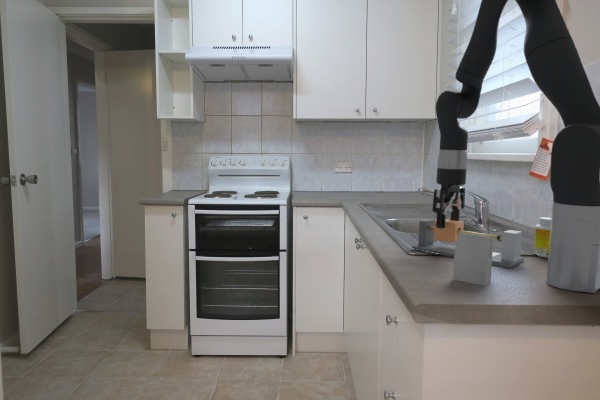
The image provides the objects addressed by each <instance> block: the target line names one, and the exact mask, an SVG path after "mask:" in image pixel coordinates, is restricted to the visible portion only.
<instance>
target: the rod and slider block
mask: <svg viewBox="0 0 600 400" xmlns="http://www.w3.org/2000/svg"><path fill="white" fill-rule="evenodd" d="M435 220H436V219H432V218H431V219H430V218H426V219H422V220H419V223H418V224H419V225H418V226H419V227H418V241H417V242H418V244H415V245H412V246H411V249H412V248H414V249H418V250H423V251H429V252H434V253H439V254H442V255H441V256H443V255H444V257H448V258H453V259H454V254H455V248H456V245H455V244H454V245H453V244H448V243H441V242H436V241H434V239H433V237H434V221H435ZM458 233H466V234H474V235H482V236H490V237H492V240H497V242H502V244H501V252H493V251H492V266H496V267H502V268H506V269H510V268H512V267H515V266H517V265H519V264H520V263H522V262H524V259H525V256H524V257H523V256H521V252H522V251H521V250H522V238H523V237H522V236H523V231H521V230H512V229H508V230H504V231H503V232H502V234H498V235H496V234H495V235H494V234H489V233H482V232H481V233H480V232H476V231H468V230H463V231H462V230H458V231H457V234H458Z"/></svg>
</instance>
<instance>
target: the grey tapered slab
mask: <svg viewBox="0 0 600 400" xmlns="http://www.w3.org/2000/svg"><path fill="white" fill-rule="evenodd" d="M455 243H456V244H455V246H456V248H455V254H454V258H453V271H452V272H453V273H452V280H454V281H458V282H463V283H469V284H474V285H480V286H484V287H486V286H488V285H489V284H490V283H491V280H492V266H493V265H492V252H493V239H492V237H490V236H482V235H474V234H466V233H458V238H457V242H455Z"/></svg>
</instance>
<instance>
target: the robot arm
mask: <svg viewBox="0 0 600 400" xmlns="http://www.w3.org/2000/svg"><path fill="white" fill-rule="evenodd" d="M508 1H509V0H481V2H480V5H479V10H478V12H477V16H476V19H475V23H474V27H473V30H472V32H471V36H470V39H469V41H468V44H467V46H466V49H465V51H464V53H463V56H462V58H461V60H460V63H459V65H458V67H457V68H456V69H457V70H456V72H455V79H456V80H457V81H458V83H461V90H460V91H458V90H445V91H443V92H441V93H440V94H439V95H438V97H437V100H436V102H435V103H436V104H435V114H436V120H437V125H438V130H439V134H440V137H439V150H438V156H437V168H436V180H435V181H436V184H437V185H440V189H436V188H435V189H434V192H433V201H432V209H431V210H432V213H435V214H436V219H435V220H436V227H437V228H442V229H443V228H445V220H446V219H447V212H448V210H449V209H451V212H450V220H456V221H460V215H461V214H460V213H461V212H462V210H464V209H465V205H466V204H465V201H466V200H465V199H466V187H462V186H465V185H466V184H467V169H468V144H469V143H468V141H469V132H468V130H467V129H466V128H464V127H463V126H462V127H461V126H460V125H459V119H460V120H465V119H468V118H470V117H471V116H472V115H473V114H475V112H476V110H477V109H478V106H479V102H480V98H481V92H482V88H483V83H484V79H485V78H486V76H487V74H488V72H489V69H490V68H491V65H492V63H493V61H494V58H495V55H496V53H497V46H498V36H499V35H498V32H499V25H500V20H501V15H502V13H503V11H504V8H505V6H506V5H507V3H508ZM514 1H515V2H516V4H517V5H518V7H519V10H520V11H521V13H522V16H523V19H524V21H525V35H524V40H523V54H524V58H525V62H526V64H527V67H528V69H529V72H530V75H531V77H532V79H533V81H534V83H535V84H536V86H537V88H539V90H540V91H541V92H542V93H543V94H544V96H545V97H546V98H547V100H548V101H549V102H550V104H552V105H553V107H554V108H555V110H556V111H557V112H558V114H559V116H560V118H561V121H562V122H563V125H564V127H563V128H562V129H561V130H560V131H558V133H557V134H556V135H555V137H554V140H553V142H552V147H551V151H550V174H549V175H550V176H549V178H550V179H549V183H550V184H549V185H550V188H551V192H552V195H553V197H552V198H553V199H552V209H551V210H552V211H551V218H552V219H551V231H550V243H549V255H548V258H547V266H546V267H547V268H546V269H547V270H546V279H545V281H546V284H548V285H550V286H552V287H554V288H558V289H561V290H565V291H566V290H567V291H572V292H582V293H591V294H596V292H598V290H599V289H600V104H599V102H598V101H597V98H596V96H595V94H594V91H593V89H592V86H591V82H590V81H589V78H588V75H587V72H586V70H585V68H584V65H583V62H582V59H581V57H580V54H579V51H578V49H577V46H576V45H575V42H574V40H573V37H572V36H571V34H570V32H569V28H568V26H567V24H566V22H565V18H564V16H563V14H562V12H561V10H560V8H559V5H558V3H557V0H514ZM460 186H461V187H460Z"/></svg>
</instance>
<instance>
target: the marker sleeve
mask: <svg viewBox="0 0 600 400" xmlns="http://www.w3.org/2000/svg"><path fill="white" fill-rule="evenodd" d="M434 220H435V221H434V237H433V239H434V240H435V241H440V242H441V241H442V242H448V243H452V244H453V243H454V244H455V243H457V238H458V234H457V231H458V230H462V231H464V225H465V222H464V221H465V220H464V221H463V220H459V221H456V220H451V219H448V218H446V220H445V228H443V229H442V228H437V227H436V220H437V219H434Z"/></svg>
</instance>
